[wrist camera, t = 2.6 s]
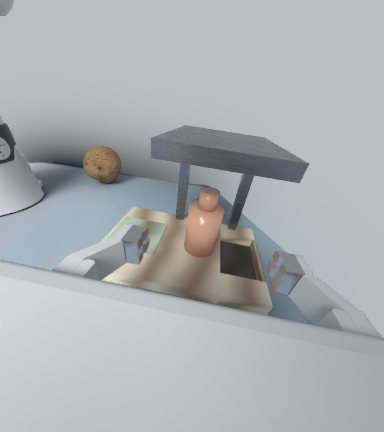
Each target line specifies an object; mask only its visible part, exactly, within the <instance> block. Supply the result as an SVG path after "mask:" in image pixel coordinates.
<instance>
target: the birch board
mask: <svg viewBox="0 0 384 432" xmlns="http://www.w3.org/2000/svg"><path fill="white" fill-rule="evenodd" d="M187 219H188V217H185V216H184V219H183V220H179V219H176V215H175V214H170V213H164V212H159V211H154V210H148V209H143V208H138V207H133V208H132V209H131V210H130V211H129V212H128V213H127V214H126V215H125V216H124V217H123V218H122V219H121V221H120V222H119V223H118V224H117V225H116V226H115V227H114V228H113V229H112V230H111V231H110V232H109V234H108V235H107V236H106V237H105V238H104V239H103V240H102V241H104V240H106V239H109V238H113V237H114V236H115V235H116V233H117V232H118V231H119V230H120V229H121V228H122V227H123V225H124V224H131V225H137V226H142V227H146V228H149V234H148V237H149V239H150V242H149V247H148V249H147V251H146V252H145V253H144V254H143V259H142V261H141V262H140V264H139V265H137V264H131V263H126V264H124V265H123V266H121V267H120V268H118V269H117V270H116V271H114V272H113V273H111V274H110V275H108V276H107V277H105V278H104V279H102V280H105V281H110V282H115V283H119V284H124V285H128V286H133V287H138V288H142V289H147V290H152V291H156V292H161V293H165V294H170V295H175V296H179V297H184V298H189V299H193V300H198V301H202V302H207V303H212V304H216V305H221V306H226V307H230V308H235V309H239V310H244V311H249V312H253V313H258V314H263V315H268V313H269V312H270V311H271V309H272V308H273V305H272V302H271V298H270V294H269V290H268V287H267V283H266V279H265V275H264V272H263V268H262V264H261V260H260V257H259V253H258V249H257V246H256V242H255V238H254V234H253V231H252V229H249V228H244V227H239V226H237V227H236V230H232V229H228V224H223V223H221V227H220V230H219V234H218V238H217V241H216V245H215V248H214V252H213V253H212V255H210V256H208V257H205V258H198V257H194V256H192V255H190V254H189V253H188V252H187V251H186V250H185V248H184V242H185V234H186V227H187Z"/></svg>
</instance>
